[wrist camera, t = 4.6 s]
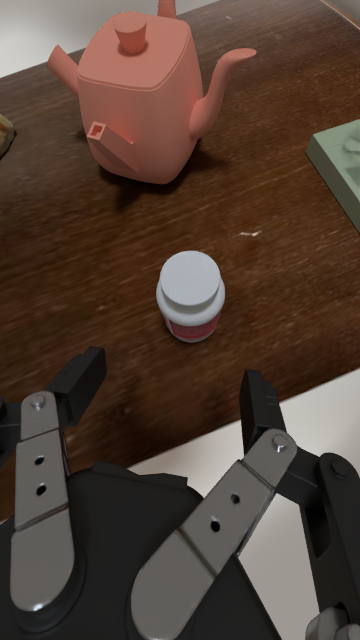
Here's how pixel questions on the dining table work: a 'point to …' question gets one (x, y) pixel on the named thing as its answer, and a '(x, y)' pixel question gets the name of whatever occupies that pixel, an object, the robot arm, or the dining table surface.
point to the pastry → (5, 134)
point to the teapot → (144, 93)
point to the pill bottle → (190, 295)
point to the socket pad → (340, 164)
